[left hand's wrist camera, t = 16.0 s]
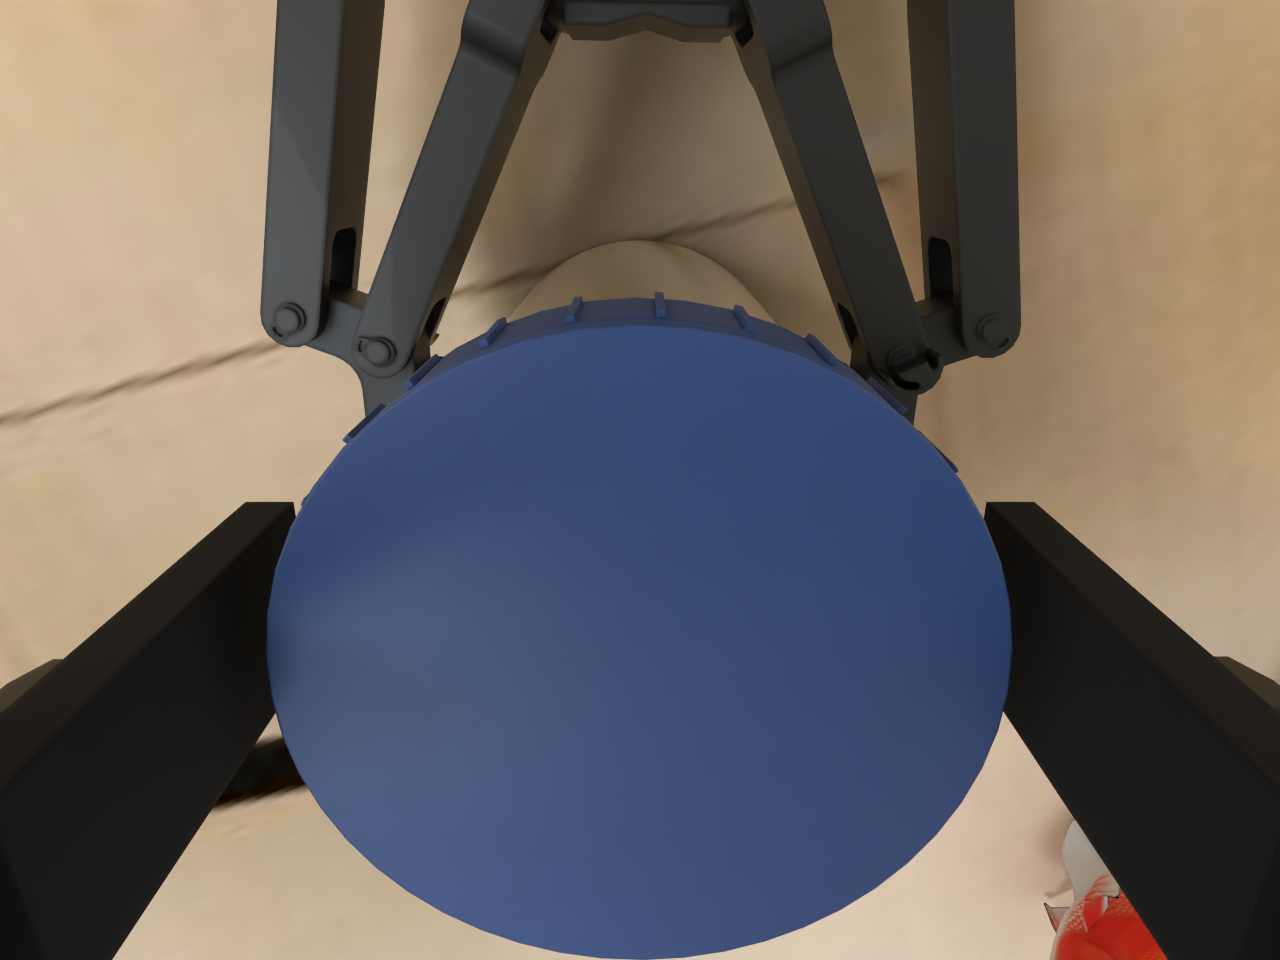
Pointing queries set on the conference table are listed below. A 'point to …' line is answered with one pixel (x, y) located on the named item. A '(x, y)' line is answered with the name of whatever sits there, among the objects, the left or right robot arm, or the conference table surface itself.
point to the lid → (639, 632)
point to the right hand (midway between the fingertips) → (636, 620)
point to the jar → (639, 279)
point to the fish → (1096, 911)
